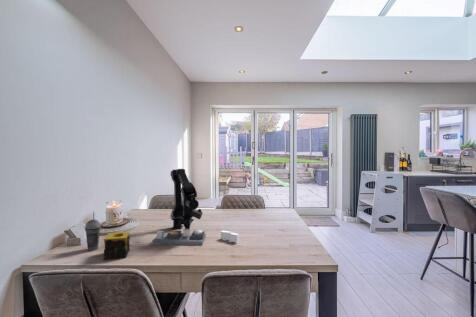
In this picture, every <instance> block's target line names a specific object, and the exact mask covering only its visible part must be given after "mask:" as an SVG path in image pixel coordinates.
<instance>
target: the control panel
mask: <svg viewBox="0 0 476 317" xmlns="http://www.w3.org/2000/svg"><path fill="white" fill-rule="evenodd" d="M173 231H174V230H169V232H164V237H163V238H162V240H161V239H156V238H157V235H156V236H155V237H154V238H153V239H152V240H151V242H152V243H151V245H178V246H181V245H182V246H183V245H184V246H203V244H204V243H205V240H206V237H207V236H206V233H205V231H203V230H202V235H194V230H193V232H190V235H189V237H183V232H182V231H181V230H176V231H177V232H179V234H170V232H173Z"/></svg>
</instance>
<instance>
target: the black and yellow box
mask: <svg viewBox="0 0 476 317" xmlns="http://www.w3.org/2000/svg"><path fill="white" fill-rule="evenodd" d="M130 238H131V236H130V231H118V232H117V231H116V232H108V234H107V236H106V237H105V238H104V239H103V241H104V249H103V260H104V261H105V260H116V259H125V258H127V257H128V255H129V252H130V247H131V245H130Z"/></svg>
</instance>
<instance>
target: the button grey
mask: <svg viewBox="0 0 476 317" xmlns="http://www.w3.org/2000/svg"><path fill="white" fill-rule="evenodd" d="M193 231H194V235H202V231H203V230H202V229H194V230H193Z"/></svg>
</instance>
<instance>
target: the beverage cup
mask: <svg viewBox="0 0 476 317" xmlns="http://www.w3.org/2000/svg"><path fill="white" fill-rule="evenodd" d="M101 228H102V224H101V222H100V221H99V220H98V219H95V211H93V215H92V219H91V220H88V221H87V223H86V224H85V227H84V231H85V236H86V245H87V250H88V251H89V252H95V251H96V250H97V251H98V249H99V243H100V234H101Z"/></svg>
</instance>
